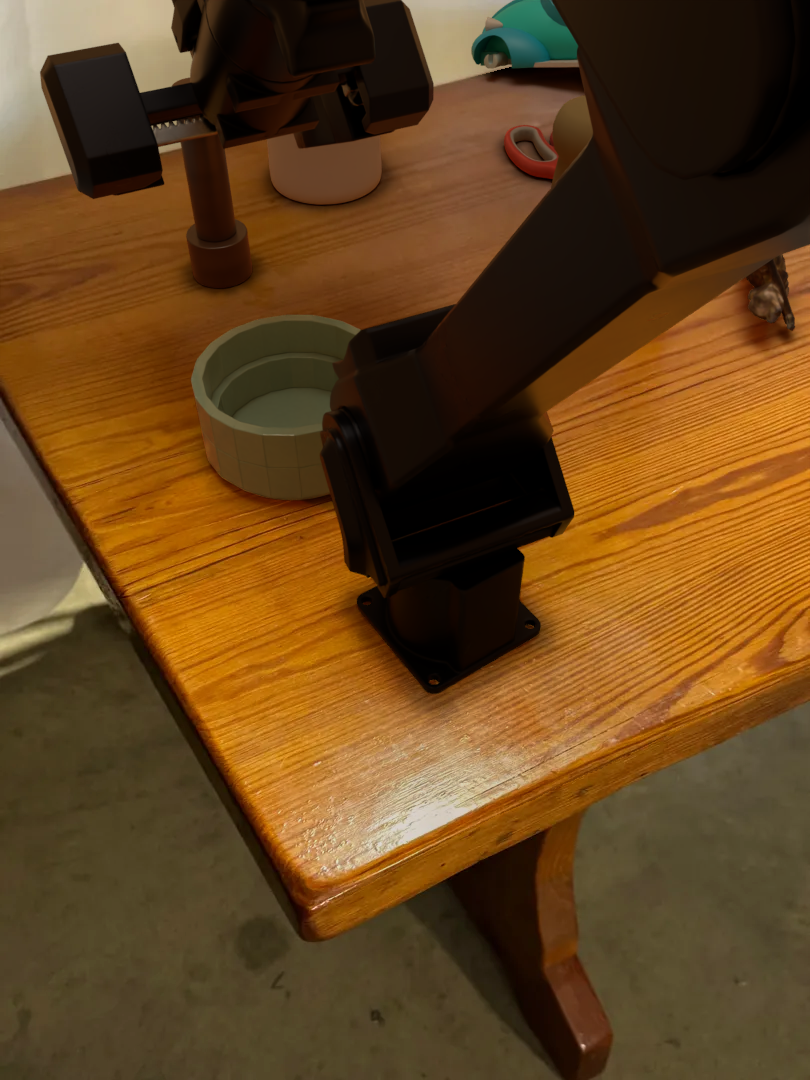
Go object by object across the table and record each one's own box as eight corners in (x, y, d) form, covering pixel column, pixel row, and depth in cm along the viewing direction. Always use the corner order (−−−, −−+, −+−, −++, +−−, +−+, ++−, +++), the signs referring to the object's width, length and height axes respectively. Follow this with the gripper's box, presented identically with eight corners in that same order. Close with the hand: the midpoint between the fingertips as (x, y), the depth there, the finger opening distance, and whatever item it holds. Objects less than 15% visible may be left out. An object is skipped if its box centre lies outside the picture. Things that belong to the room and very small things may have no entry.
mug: (353, 214, 73) (345, 59, 65) (250, 192, 75) (231, 39, 67) (416, 144, 80) (417, -4, 72) (321, 125, 82) (311, -19, 74)
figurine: (721, 135, 67) (736, 259, 57) (782, 121, 65) (808, 246, 56) (731, 231, 72) (746, 361, 62) (788, 220, 70) (813, 351, 61)
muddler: (263, 276, 67) (239, 89, 58) (209, 295, 66) (176, 106, 57) (235, 249, 70) (208, 66, 60) (183, 267, 68) (147, 82, 59)
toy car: (507, 55, 96) (507, -25, 93) (694, 53, 89) (702, -33, 86) (461, 68, 88) (459, -18, 85) (663, 68, 81) (670, -27, 77)
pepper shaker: (518, 275, 67) (532, 113, 59) (552, 233, 71) (570, 75, 63) (603, 298, 65) (630, 134, 57) (633, 254, 69) (663, 93, 61)
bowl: (424, 457, 55) (425, 386, 51) (261, 534, 51) (249, 463, 47) (328, 364, 61) (323, 293, 57) (175, 426, 57) (159, 355, 53)
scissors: (697, 253, 67) (692, 272, 68) (586, 113, 81) (583, 130, 82) (590, 266, 66) (587, 285, 67) (496, 121, 79) (494, 139, 81)
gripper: (408, -197, 45) (327, -9, 60) (-17, -145, 39) (11, 48, 54) (485, 47, 46) (387, 173, 61) (81, 131, 40) (82, 247, 55)
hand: (224, 156), depth 58 cm, fingers open, 9 cm apart
